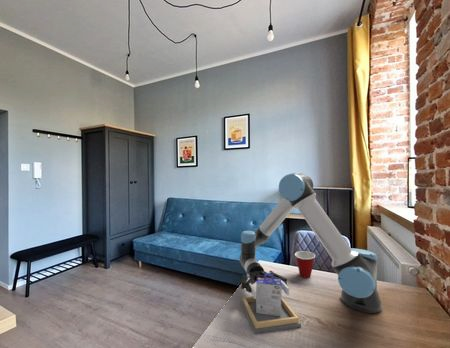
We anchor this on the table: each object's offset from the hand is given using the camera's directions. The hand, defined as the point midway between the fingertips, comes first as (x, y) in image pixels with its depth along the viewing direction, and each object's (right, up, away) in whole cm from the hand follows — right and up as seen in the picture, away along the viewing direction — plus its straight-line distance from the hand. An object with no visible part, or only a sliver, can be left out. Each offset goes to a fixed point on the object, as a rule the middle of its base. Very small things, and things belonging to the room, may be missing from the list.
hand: (272, 293), depth 85 cm
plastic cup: (+26, -10, +37) cm, 47 cm away
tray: (-1, -10, +3) cm, 11 cm away
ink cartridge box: (-1, -9, +3) cm, 10 cm away
